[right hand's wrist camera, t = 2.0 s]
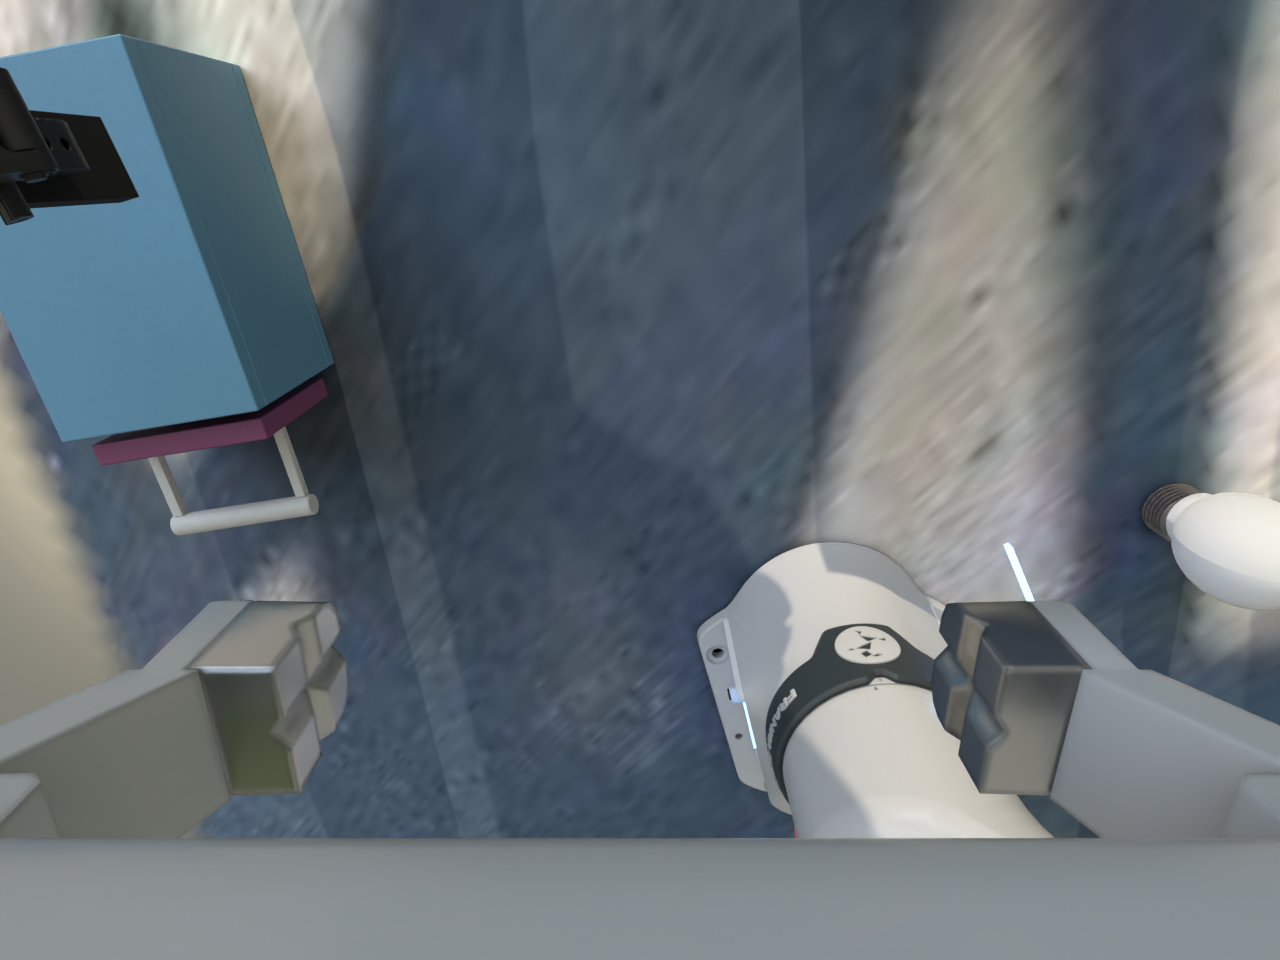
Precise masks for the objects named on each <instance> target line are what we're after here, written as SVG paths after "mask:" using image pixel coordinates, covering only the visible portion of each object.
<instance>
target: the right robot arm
mask: <svg viewBox="0 0 1280 960" xmlns="http://www.w3.org/2000/svg"><path fill="white" fill-rule="evenodd" d="M1004 547H1005V549H1006V552H1007V554H1008V557H1009V559H1010V562H1011V564H1012V566H1013V569H1014V571H1015V574H1016V576H1017V579H1018V581H1019V583H1020V586H1021V588H1022V591H1023V593H1024V596H1025V598H1026V600H1027V601H1011V602H971V603H950V604H947V605H946V606H945V605H944V604H942V603H940V602H939V601H937V600H935V599H933V598H931V597H929V596H927V595H925V594H923V593H922V592H921V591H920V590H919V589H918V588H917V587H916V585H915V584H914V583H913V581H912V580H911V578H910V577H909V576H908V574H907V573H906V572H905V571H904V570H903V569H902V568H901V567H900V566H899V565H898V564H897V563H896V562H894V561H893V560H892V559H890V558H889V557H887V556H886V555H884V554H882V553H880V552H878V551H876V550H874V549H871V548H868V547H865V546H862V545H858V544H853V543H846V542H822V543H814V544H809V545H805V546H801V547H798V548H795V549H792V550H789V551H787V552H785V553H783V554H781V555H779V556H777V557H775V558H773V559H772V560H770V561H769V562H767V563H766V564H764V565H763V566H762V567H760V568H759V569H758V570H757V571H756V572H755V573H754V574H753V575H752V576H751V577H750V578H749V579H748V580H747V581H746V582H745V584H744V585H743V586H742V588H741V589H740V591H739V592H738V593H737V595H736V596H735V598H734V599H733V601H732V602H731V603H730V604H729V605H728V606H727V607H726V608H725V609H723V610H722V611H720V612H718V613H717V614H715V615H714V616H712V617H711V618H709V619H708V620H707V621H705V622H704V623H703V624H702V625H701V626H700V628H699V629H698V631H697V640H698V644H699V647H700V650H701V654H702V657H703V661H704V664H705V667H706V671H707V674H708V677H709V681H710V684H711V687H712V691H713V694H714V697H715V701H716V704H717V707H718V711H719V714H720V717H721V721H722V724H723V727H724V731H725V734H726V738H727V741H728V744H729V748H730V751H731V754H732V758H733V761H734V764H735V767H736V771H737V774H738V776H739V779H740V780H741V781H742V782H743V783H744V784H746V785H748V786H751V787H753V788H756V789H759V790H762V791H766V792H768V796H769V800H770V803H771V804H772V805H773V806H774V807H776V808H777V809H779V810H780V811H782V812H785V813H787V814H791V815H792V817H793V821H794V825H795V838H180V837H182V836H183V835H184V834H185V833H187V832H188V831H189V830H191V829H192V828H193V827H195V826H196V825H197V824H198V823H200V822H201V821H202V820H204V819H205V818H206V817H207V816H209V815H210V814H211V813H213V812H214V811H215V810H217V809H218V808H219V807H220V806H222V805H223V804H224V803H226V802H227V801H228V800H229V799H230V795H264V794H300V793H301V792H302V790H303V788H304V786H305V784H306V783H307V781H308V779H309V777H310V775H311V774H312V772H313V770H314V768H315V766H316V765H317V763H318V761H319V759H320V757H321V756H322V752H321V747H320V740H321V739H323V738H325V737H326V736H328V735H329V734H331V733H332V732H334V731H335V730H336V728H337V726H338V724H339V722H340V721H341V719H342V717H343V715H344V710H345V706H346V702H347V697H348V669H347V663H346V659H345V658H344V657H343V656H342V655H341V654H340V653H339V652H338V651H337V650H336V649H335V648H334V647H333V646H332V645H333V643H334V642H335V640H336V639H337V637H338V635H339V634H340V632H341V628H340V623H339V618H338V613H337V609H336V608H335V607H334V606H333V605H332V604H331V603H330V602H294V601H253V600H235V601H216V602H210V603H209V604H208V605H207V606H206V607H205V608H204V609H203V610H202V611H201V612H200V613H199V614H198V615H197V616H196V617H195V618H194V619H193V620H192V621H191V622H190V623H189V624H188V625H187V626H186V627H185V628H184V629H183V630H182V631H181V632H180V633H178V634H177V635H176V636H175V637H174V638H173V639H172V640H171V641H170V642H169V643H168V644H167V645H166V646H165V647H164V648H163V649H162V650H161V651H160V652H159V653H158V654H157V655H156V656H155V657H154V658H153V659H152V660H151V661H150V662H149V663H148V664H147V665H146V666H145V667H144V668H143V669H142V670H127V671H125V672H122V673H120V674H118V675H115V676H113V677H111V678H108V679H106V680H104V681H102V682H99V683H97V684H95V685H92V686H90V687H88V688H85V689H83V690H81V691H78V692H76V693H74V694H71V695H69V696H67V697H65V698H62V699H60V700H58V701H55V702H53V703H51V704H48V705H46V706H44V707H41V708H39V709H37V710H34V711H32V712H30V713H27V714H25V715H23V716H21V717H18V718H16V719H14V720H11V721H9V722H7V723H4V724H2V725H0V960H1280V725H1278V724H1275V723H1273V722H1271V721H1268V720H1266V719H1264V718H1261V717H1259V716H1257V715H1255V714H1252V713H1250V712H1248V711H1245V710H1243V709H1241V708H1238V707H1236V706H1234V705H1231V704H1229V703H1227V702H1225V701H1222V700H1220V699H1218V698H1215V697H1213V696H1211V695H1208V694H1206V693H1204V692H1201V691H1199V690H1197V689H1195V688H1192V687H1190V686H1188V685H1185V684H1183V683H1181V682H1178V681H1176V680H1174V679H1172V678H1169V677H1167V676H1165V675H1162V674H1160V673H1158V672H1155V671H1153V670H1138V669H1137V668H1136V667H1135V666H1134V665H1133V664H1132V663H1131V662H1130V661H1129V660H1128V659H1127V658H1126V657H1125V656H1124V655H1123V654H1122V653H1121V652H1120V651H1119V650H1118V649H1117V648H1116V647H1115V646H1114V645H1113V644H1112V643H1111V642H1110V641H1109V640H1108V639H1107V638H1106V637H1105V636H1104V635H1103V634H1102V633H1101V632H1100V631H1099V630H1098V629H1097V628H1096V627H1095V626H1093V625H1092V624H1091V623H1090V622H1089V621H1088V620H1087V619H1086V618H1085V617H1084V616H1083V615H1082V614H1081V613H1080V612H1079V611H1078V610H1077V609H1076V608H1075V607H1074V606H1073V605H1072V604H1071V603H1068V602H1065V601H1063V600H1046V601H1034V599H1033V596H1032V594H1031V591H1030V589H1029V586H1028V584H1027V581H1026V579H1025V576H1024V574H1023V572H1022V569H1021V567H1020V564H1019V562H1018V559H1017V557H1016V554H1015V552H1014V549H1013V547H1012V546H1011V545H1010V544H1009V543H1006V544H1004ZM717 648H719V649H722V651H720V652H717V653H716V652H713V650H714V649H717ZM1017 795H1050V799H1051V800H1052V801H1053V802H1055V803H1056V804H1057V805H1059V806H1060V807H1061V808H1062V809H1064V810H1065V811H1066V812H1068V813H1069V814H1070V815H1072V816H1073V817H1074V818H1075V819H1077V820H1078V821H1079V822H1081V823H1082V824H1083V825H1084V826H1086V827H1087V828H1088V829H1090V830H1091V831H1092V832H1093V833H1095V834H1096V835H1097V836H1099V837H1100V838H1054V837H1053V836H1052V835H1051V834H1050V833H1049V832H1048V831H1046V830H1045V829H1044V828H1043V827H1042V826H1041V825H1040V823H1039V822H1038V821H1037V820H1036V819H1035V818H1034V817H1033V816H1032V814H1031V813H1030V812H1029V811H1028V810H1027V808H1026V807H1025V806H1024V804H1023V803H1022V802H1021V800H1020V799H1019V797H1018V796H1017Z"/></svg>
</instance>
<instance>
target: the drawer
mask: <svg viewBox="0 0 1280 960" xmlns="http://www.w3.org/2000/svg"><path fill="white" fill-rule="evenodd" d="M326 396H328V393H327V390H326V387H325V384H324V381H323V378H318V379H312V380H306V381H305V382H303V383H302V384H300V385H298V386H297V387H295V388H294V389H292V390H290V391H289V392H287V393H286V394H284V395H282V396H281V397H279V398H278V399H276V400H274V401H273V402H271V403H270V404H268V405H266V406H265V407H263V408H261V409H260V410H258V411H254V412H248V413H242V414H236V415H230V416H224V417H218V418H212V419H205V420H199V421H193V422H187V423H181V424H175V425H169V426H162V427H156V428H150V429H144V430H138V431H132V432H126V433H120V434H114V435H112V436H110V437H108V438H106V439H104V440H102V441H100V442H98V443H96V444H94V445H92V449H93V451H94V453H95V455H96V457H97V459H98V462H99V464H100V465H108V464H114V463H121V462H127V461H133V460H139V459H146V458H148V459H149V461H150V464H151V466H152V468H153V471H154V473H155V475H156V478H157V480H158V482H159V485H160V487H161V489H162V491H163V494H164V496H165V498H166V501H167V503H168V505H169V508H170V510H171V512H172V515H173V517H172V518H171V522H170V525H171V529H172V531H173V532H174V533H175V534H176V535H185V534H191V533H198V532H204V531H211V530H217V529H224V528H230V527H237V526H243V525H250V524H256V523H263V522H269V521H276V520H282V519H289V518H295V517H302V516H308V515H315V514H316V513H317V512H318V509H319V503H318V500H317V497H316V496H315V495H314V494H308V493H309V492H308V489H307V486H306V483H305V481H304V478H303V475H302V472H301V469H300V467H299V464H298V461H297V458H296V455H295V452H294V450H293V447H292V444H291V441H290V438H289V436H288V433H287V430H286V427H285V426H286V425H287V424H289V423H290V422H292V421H293V420H294V419H296V418H297V417H298V416H300V415H301V414H303V413H304V412H305V411H307V410H308V409H310V408H311V407H312V406H314V405H315V404H317V403H318V402H319V401H321V400H322V399H324V398H325V397H326ZM272 435H274V438H275V441H276V444H277V446H278V449H279V452H280V455H281V457H282V460H283V463H284V466H285V468H286V471H287V474H288V477H289V480H290V482H291V485H292V488H293V491H294V493H295V496H293V497H286V498H280V499H273V500H267V501H260V502H254V503H248V504H241V505H235V506H228V507H222V508H216V509H209V510H203V511H196V512H190V513H186V512H187V509H186V506H185V504H184V502H183V499H182V497H181V495H180V492H179V490H178V488H177V485H176V483H175V481H174V478H173V476H172V473H171V471H170V469H169V466H168V464H167V462H166V459H165V457H164V455H170V454H177V453H183V452H189V451H195V450H202V449H208V448H214V447H220V446H226V445H233V444H239V443H245V442H251V441H258V440H264V439H268V438H269V437H271V436H272Z"/></svg>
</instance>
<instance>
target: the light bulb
mask: <svg viewBox="0 0 1280 960" xmlns="http://www.w3.org/2000/svg"><path fill="white" fill-rule="evenodd" d="M1142 518H1143V521H1144V523H1145V524H1146V525H1147V526H1148V527H1149V528H1150V529H1152V530H1153V531H1155V532H1156V533H1157V534H1159V535H1160V536H1162V537H1163V538H1165V539H1166V540H1167V541H1169V542H1171V546H1172V550H1173V554H1174V557H1175V559H1176V562H1177V564H1178V565H1179V567H1180V568H1181V570H1182V571H1183V573H1184V574H1185V576H1186V577H1187V578H1188V579H1189V580H1191V581H1192V582H1193V583H1194V584H1195V585H1196V586H1197V587H1198V588H1199V589H1200V590H1202V591H1204V592H1205V593H1207V594H1209V595H1210V596H1212V597H1214V598H1216V599H1217V600H1220V601H1222V602H1225V603H1227V604H1230V605H1233V606H1237V607H1241V608H1246V609H1253V610H1274V609H1280V503H1279V502H1277V501H1274V500H1272V499H1269V498H1266V497H1263V496H1260V495H1255V494H1250V493H1241V492H1226V493H1218V494H1214V495H1211V494H1207V493H1202V492H1201V491H1199V490H1197V489H1196V488H1194V487H1192V486H1190V485H1187V484H1181V483H1178V484H1170V485H1166V486H1164V487H1162V488H1160V489H1158V490H1156V491H1155V492H1153V493H1152V494H1151V495H1150V496H1149V497H1148V499H1147V500H1146V501H1145V503H1144V505H1143V509H1142Z"/></svg>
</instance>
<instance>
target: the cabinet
mask: <svg viewBox="0 0 1280 960" xmlns="http://www.w3.org/2000/svg"><path fill="white" fill-rule="evenodd" d="M0 67H1V68H5V69H7V70H8V71H9V73H10V75H11V77H12V79H13V81H14V83H15V84H16V86H17V88H18V90H19V92H20V94H21V96H22V98H23V99H24V101H25V103H26V105H27V107H28V109H29V110H34V111H44V112H55V113H65V114H76V115H86V116H96V117H101V119H102V121H103V123H104V126H105V128H106V130H107V132H108V134H109V136H110V138H111V140H112V142H113V144H114V146H115V148H116V150H117V152H118V154H119V156H120V158H121V160H122V162H123V164H124V166H125V168H126V170H127V172H128V174H129V176H130V178H131V180H132V182H133V184H134V187H135V189H136V191H137V193H138V195H139V197H137V198H134V199H131V200H128V201H125V202H122V203H109V204H93V205H77V206H62V207H46V208H31V209H30V210H31V212H32V213H33V215H34V217H33V218H31V219H29V220H26V221H23V222H19V223H15V224H11V225H7V226H6V225H5V224H4V222H3V220H2V218H1V216H0V311H1V313H2V315H3V317H4V320H5V322H6V324H7V326H8V328H9V330H10V332H11V334H12V336H13V339H14V341H15V343H16V345H17V347H18V349H19V351H20V353H21V355H22V358H23V360H24V362H25V364H26V366H27V368H28V370H29V372H30V374H31V377H32V379H33V381H34V383H35V385H36V387H37V389H38V391H39V394H40V396H41V398H42V400H43V402H44V404H45V406H46V408H47V410H48V413H49V415H50V417H51V419H52V421H53V423H54V425H55V427H56V429H57V432H58V434H59V436H60V438H61V440H62V442H71V441H77V440H83V439H89V438H95V437H101V436H107V435H113V434H120V433H126V432H132V431H138V430H144V429H150V428H156V427H162V426H169V425H175V424H181V423H187V422H193V421H199V420H205V419H212V418H218V417H224V416H230V415H236V414H242V413H248V412H254V411H258V410H260V409H261V408H263V407H265V406H266V405H268V404H270V403H271V402H273V401H274V400H276V399H278V398H279V397H281V396H282V395H284V394H286V393H287V392H289V391H290V390H292V389H294V388H295V387H297V386H298V385H300V384H302V383H303V382H305V381H306V380H308V379H310V378H311V377H313V376H314V375H316V374H318V373H319V372H321V371H322V370H324V369H326V368H327V367H329V366H330V365H332V364H333V363H334V361H333V358H332V354H331V351H330V348H329V345H328V342H327V339H326V336H325V332H324V329H323V326H322V323H321V320H320V317H319V314H318V311H317V307H316V304H315V301H314V298H313V295H312V292H311V289H310V285H309V282H308V279H307V276H306V273H305V270H304V267H303V264H302V260H301V257H300V254H299V251H298V248H297V245H296V242H295V238H294V235H293V232H292V229H291V226H290V223H289V220H288V217H287V213H286V210H285V207H284V204H283V201H282V198H281V195H280V192H279V188H278V185H277V182H276V179H275V176H274V173H273V170H272V166H271V163H270V160H269V157H268V154H267V151H266V148H265V145H264V141H263V138H262V135H261V132H260V129H259V126H258V123H257V119H256V116H255V113H254V110H253V107H252V104H251V101H250V98H249V94H248V91H247V88H246V85H245V82H244V79H243V76H242V72H241V69H240V67H239V66H238V65H235V64H231V63H227V62H223V61H220V60H216V59H212V58H208V57H205V56H201V55H197V54H193V53H189V52H186V51H182V50H178V49H174V48H171V47H167V46H163V45H159V44H155V43H152V42H148V41H144V40H140V39H137V38H132V37H129V36H125V35H121V34H117V35H112V36H107V37H102V38H97V39H92V40H87V41H82V42H77V43H72V44H67V45H61V46H56V47H51V48H46V49H41V50H36V51H31V52H26V53H21V54H16V55H11V56H6V57H0Z"/></svg>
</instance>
